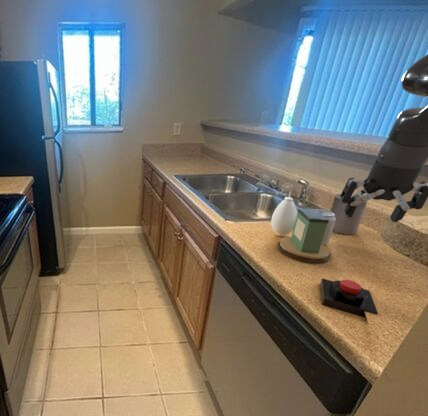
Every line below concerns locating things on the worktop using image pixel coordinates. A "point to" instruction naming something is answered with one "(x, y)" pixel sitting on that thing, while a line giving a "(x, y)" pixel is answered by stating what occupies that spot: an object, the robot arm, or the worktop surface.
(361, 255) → the worktop surface
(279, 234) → the sauce bottle
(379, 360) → the worktop surface
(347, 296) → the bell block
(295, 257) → the disc
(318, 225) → the tea box
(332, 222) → the can
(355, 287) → the bell button
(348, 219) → the pillar candle
